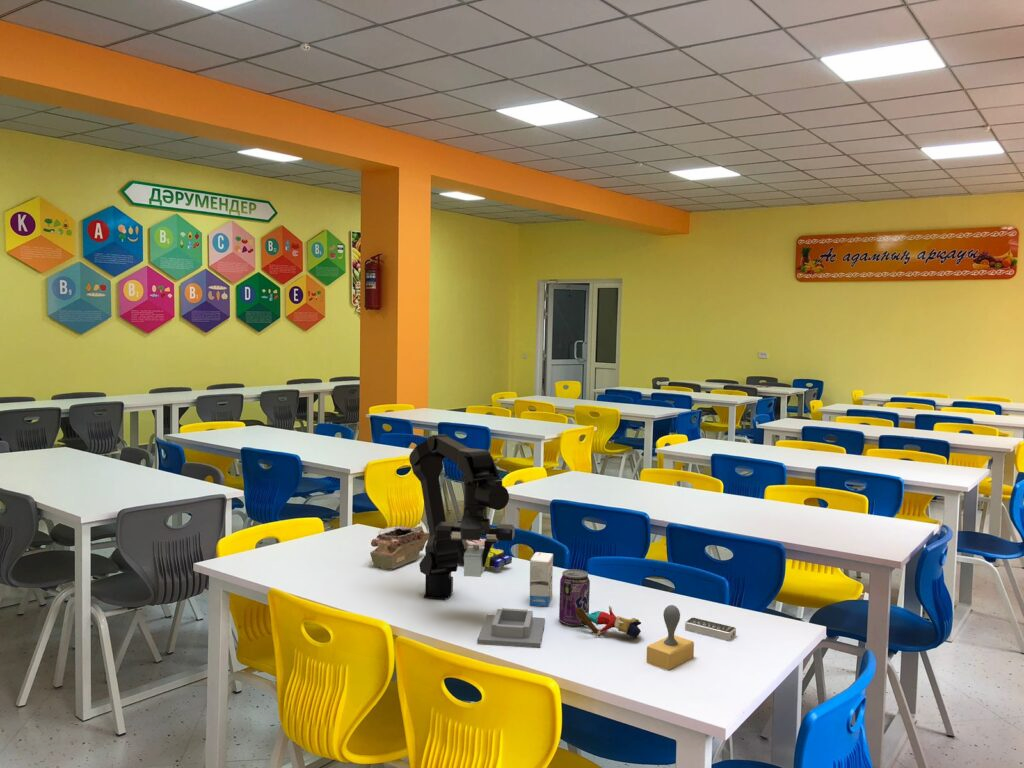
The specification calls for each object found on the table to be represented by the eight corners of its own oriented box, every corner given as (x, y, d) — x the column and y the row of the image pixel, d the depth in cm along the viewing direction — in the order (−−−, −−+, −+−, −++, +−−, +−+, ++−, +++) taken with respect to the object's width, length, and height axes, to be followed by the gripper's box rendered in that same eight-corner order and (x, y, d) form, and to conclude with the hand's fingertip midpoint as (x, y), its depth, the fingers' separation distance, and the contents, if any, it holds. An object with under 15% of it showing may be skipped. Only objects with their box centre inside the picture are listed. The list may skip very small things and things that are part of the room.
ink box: (547, 607, 203) (548, 561, 203) (528, 605, 204) (529, 560, 204) (552, 596, 212) (554, 552, 211) (534, 595, 213) (535, 551, 212)
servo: (463, 577, 192) (463, 550, 191) (469, 567, 200) (469, 542, 200) (480, 577, 191) (480, 551, 191) (485, 567, 200) (485, 542, 199)
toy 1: (494, 555, 228) (453, 541, 236) (491, 578, 229) (450, 563, 237) (518, 546, 238) (477, 533, 246) (515, 569, 239) (475, 555, 247)
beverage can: (569, 629, 189) (570, 579, 188) (553, 619, 195) (554, 570, 194) (594, 624, 192) (595, 575, 191) (578, 615, 198) (579, 567, 197)
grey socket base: (477, 643, 179) (477, 628, 178) (487, 618, 194) (487, 604, 194) (540, 647, 177) (540, 632, 177) (544, 622, 193) (545, 607, 193)
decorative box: (357, 564, 237) (357, 531, 236) (404, 550, 253) (404, 520, 253) (389, 573, 229) (389, 539, 229) (435, 558, 246) (436, 526, 245)
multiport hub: (691, 626, 194) (692, 616, 193) (736, 637, 187) (736, 627, 187) (684, 631, 190) (684, 622, 190) (729, 642, 184) (729, 633, 183)
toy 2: (586, 595, 192) (646, 610, 186) (584, 621, 193) (644, 637, 186) (571, 606, 184) (633, 622, 177) (568, 633, 185) (631, 650, 178)
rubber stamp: (668, 671, 167) (670, 614, 166) (645, 662, 171) (647, 607, 170) (694, 657, 174) (696, 603, 173) (671, 650, 178) (673, 596, 177)
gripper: (430, 507, 188) (429, 573, 189) (510, 511, 186) (509, 577, 187) (440, 498, 199) (439, 560, 200) (515, 501, 197) (514, 564, 198)
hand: (474, 566), depth 196 cm, fingers closed on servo, 4 cm apart
